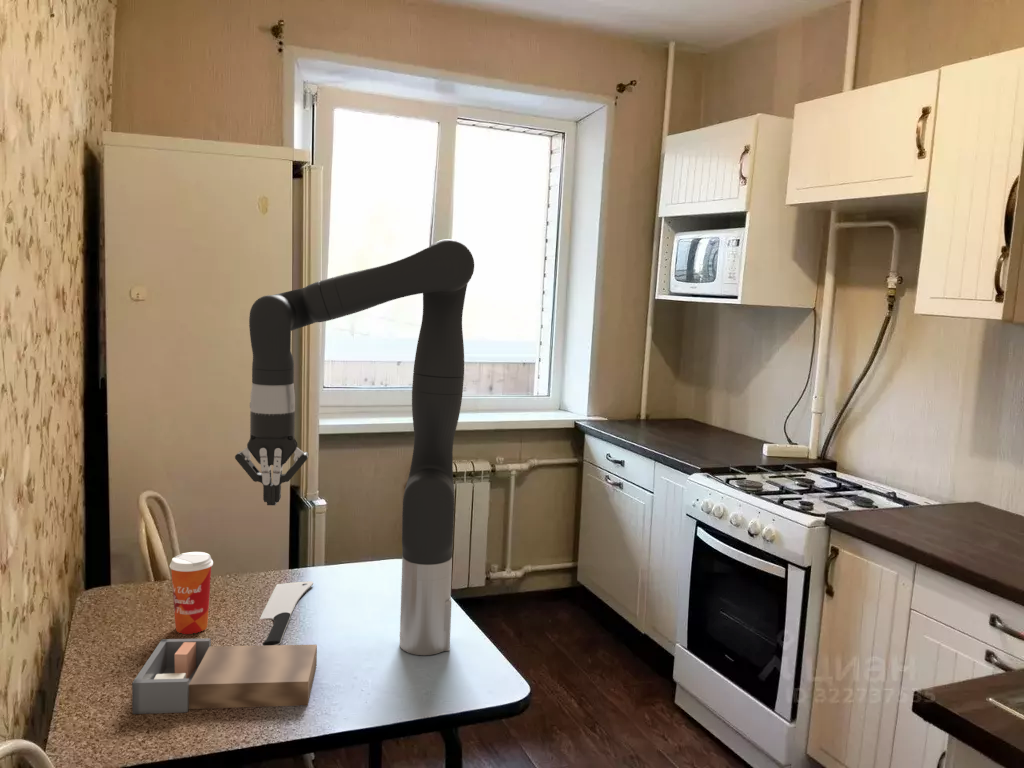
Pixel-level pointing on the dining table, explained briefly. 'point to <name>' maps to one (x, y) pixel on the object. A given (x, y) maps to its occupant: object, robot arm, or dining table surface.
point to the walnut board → (254, 676)
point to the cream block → (171, 676)
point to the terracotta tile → (186, 659)
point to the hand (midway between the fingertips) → (271, 504)
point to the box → (164, 692)
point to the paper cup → (191, 591)
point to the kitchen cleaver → (282, 608)
